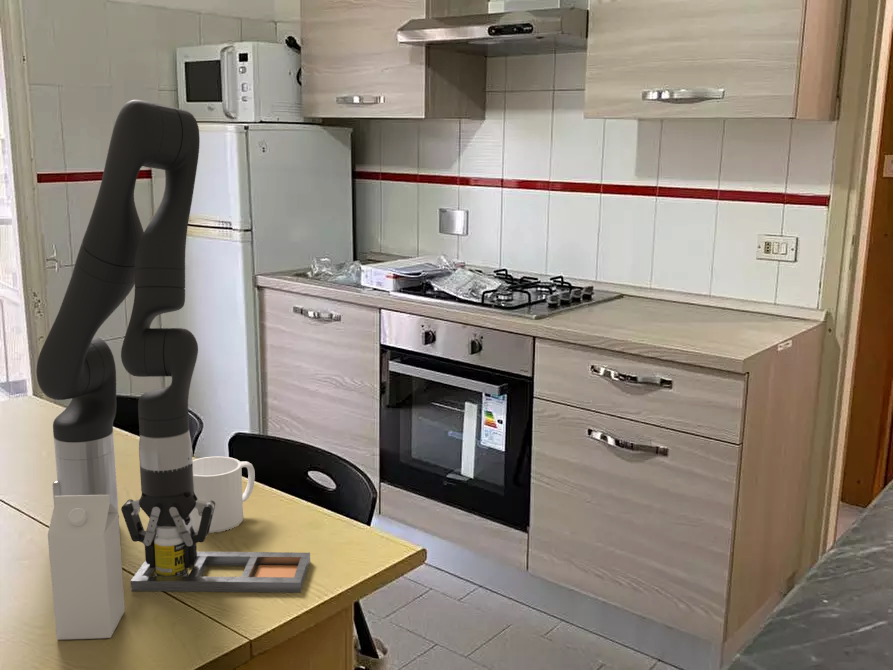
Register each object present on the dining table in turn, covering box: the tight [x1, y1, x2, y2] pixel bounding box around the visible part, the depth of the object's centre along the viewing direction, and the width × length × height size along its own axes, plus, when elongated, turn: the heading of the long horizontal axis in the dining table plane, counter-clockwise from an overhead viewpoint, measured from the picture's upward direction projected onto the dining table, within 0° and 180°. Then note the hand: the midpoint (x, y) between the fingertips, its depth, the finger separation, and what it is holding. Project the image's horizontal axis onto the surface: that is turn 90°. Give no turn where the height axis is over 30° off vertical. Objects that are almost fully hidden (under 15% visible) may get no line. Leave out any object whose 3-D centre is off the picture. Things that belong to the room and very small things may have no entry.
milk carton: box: [47, 495, 126, 641], centre depth 122 cm, size 7×7×19 cm
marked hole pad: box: [253, 565, 298, 577], centre depth 138 cm, size 6×6×1 cm
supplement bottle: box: [154, 525, 189, 576], centre depth 137 cm, size 5×5×8 cm
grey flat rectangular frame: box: [130, 551, 311, 593], centre depth 138 cm, size 25×10×2 cm, turn 90°
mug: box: [190, 455, 256, 534], centre depth 158 cm, size 13×10×10 cm
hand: (171, 565), depth 138 cm, fingers closed on supplement bottle, 4 cm apart
